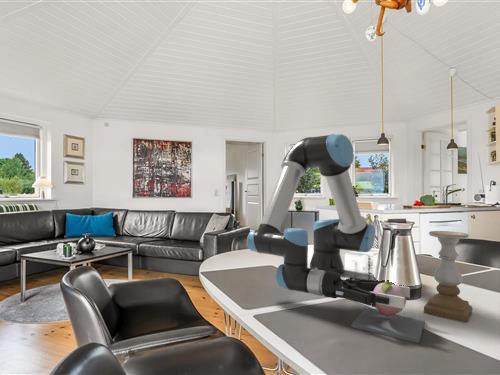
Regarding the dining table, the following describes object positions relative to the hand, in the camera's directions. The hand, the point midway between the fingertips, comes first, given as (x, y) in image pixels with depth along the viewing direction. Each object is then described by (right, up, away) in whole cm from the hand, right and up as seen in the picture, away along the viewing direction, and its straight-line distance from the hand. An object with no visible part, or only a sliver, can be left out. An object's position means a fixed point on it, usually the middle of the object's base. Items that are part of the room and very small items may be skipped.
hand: (406, 297), depth 85 cm
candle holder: (+18, -9, +12) cm, 23 cm away
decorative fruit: (-4, -6, +2) cm, 8 cm away
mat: (-4, -8, +2) cm, 9 cm away
